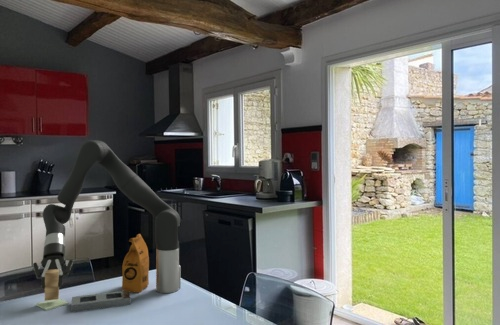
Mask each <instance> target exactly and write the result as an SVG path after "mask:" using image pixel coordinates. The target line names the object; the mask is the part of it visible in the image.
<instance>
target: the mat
mask: <svg viewBox="0 0 500 325" xmlns="http://www.w3.org/2000/svg"><path fill="white" fill-rule="evenodd" d="M66 305H69V302H68V301H66V300H63V299H61V298H60V297H59V298H58V299H55V300H46V301H45V300H44V301H42V302H39V303H35V306H36V307H37V308H40V309H42V310H45V311H50V310H54V309H56V308H60V307H63V306H66Z"/></svg>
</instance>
